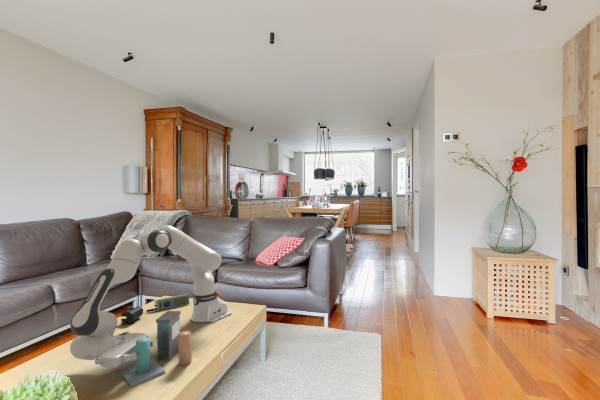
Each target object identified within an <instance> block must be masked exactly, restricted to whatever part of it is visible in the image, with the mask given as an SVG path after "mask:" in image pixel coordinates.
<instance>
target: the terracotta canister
mask: <svg viewBox="0 0 600 400" xmlns="http://www.w3.org/2000/svg"><path fill="white" fill-rule="evenodd" d="M177 353H178V365H179V366H189V364H191V363H192V331H191V330H183V331H180V333H179V334H178V352H177Z"/></svg>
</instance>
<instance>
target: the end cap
mask: <svg viewBox="0 0 600 400" xmlns="http://www.w3.org/2000/svg"><path fill="white" fill-rule="evenodd" d="M143 314H144V309H143V307H141V306H140V305H137V306H136V307H129V308H128V309H127V310H124V311H122V312H121V314H120V316H121V318H120V320H121V321H120V322H121V325H130V324H132V323H133V322H135V321H136V320H138V319H139V318H141V317H142V316H143ZM123 317H125V318H123Z"/></svg>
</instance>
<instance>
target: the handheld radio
mask: <svg viewBox="0 0 600 400" xmlns="http://www.w3.org/2000/svg"><path fill="white" fill-rule="evenodd" d="M187 305H190V293H185V294H179V295H175V296H174V295H173V296H169V297H163V298H159V299H154V305H153V306H154V307H155V308H150V309H146V310H145V311H146V313H149V312H154V311H156V312H160V311H165V310H168V309H173V308H179V307H182V306H187Z"/></svg>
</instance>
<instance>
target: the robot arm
mask: <svg viewBox="0 0 600 400" xmlns="http://www.w3.org/2000/svg"><path fill="white" fill-rule="evenodd" d="M167 249H168V250H170V251H171V252H173V253H175V254H176V255H177V256H179V257H181V258H182V259H185V260H186V262H187V263H188V265H189V267H190V270H191V275H192V279H193V294H192V303H193V304H192V305H193V309H192V314H191V318H190V320H191V321H192V322H196V323H214V322H216V321H218V320H221V319H223V318H225V317H228V316H230V315H232V310H231V309H229V308H228V304H227V302H226V301H224V300H223V299H221V298H219V297H220V296H221V295H222V294H221V292H220V291H215V278H214V276H213V274H212V272H211V271H213V270H214V271H215V270H217V269H219V267H220V266H221V264H222V260H223V259H222V256H221V254H220V253H218V252H217V251H216V250H213V249H212V248H210V247H208V246H206V245H204V244H203V243H202V242H199V241H197V240H195V239H194V238H192V237H191V236H189V235H188V234H186V233H185V232H184V231H182V230H180V229H179V228H177V227H175V226H172V225H169V224H168V225H167V224H166V225H164V226H162V227H160V228H159V229H158V230H157V229H156V230H152V231H146V232H144V233H142V234H138V235H137V236H135V237H134V238H126V239H123V240H122V241H121V242H120V243H119V245H118V246H117V248H116V250H115V252H114V253H113V255H112V258H111V261H110V262H109V264H108V265H107V267H106V269H103V270H102V271H101V272H100V273H99V275H98V277H97V278H96V279H95V281H94V283H93V284H92V286H91V288H90V290H89V291H88V293H87V294H86V297H85V299H84V300H83V302H82V304H81V305H80V306H79V308H78V309H77V310H76V311H75V313H74V314H73V316H72V317H71V320H70V325H69V327H70V330H71V332H72V334H74V335H75V336H76V337H75V338H74V339H73V340H72V341H71V343H70V346H69V351H70V354H71V356H73V357H74V358H75V359H79V360H85V361H94V364H96V365H100V366H101V367H104V368H109V369H114V368H118V367H119V366H120V365H121V364H123V363H125V362H129V361H136V359H137V358H138V354H137V353H136V340H137V339H139V338H143V337H149V335H148V334H147V333H144V332H143V333H141V332H132V333H131V332H130V331H124V332H122V333H120V334H116V335H115V331H116V329H117V326H118V317H117V316H116V315H115V314H114V313H113V312H109V311H104V310H101V309H100V306H101V305H102V303H103V301H104V299H105V298H106V295H107V293H108V292H109V290H110V288H112V287H113V286H114V285H117V284H123V283H126V282H128V281H130V280H132V279H133V277H134V276H135V275H136V272H137V270H138V267H139V265H140V261H141V259H142V257H143V256H149V255H154V254H157V253H162V252H164V251H166V250H167ZM152 347H154V341H150V349H151V348H152Z"/></svg>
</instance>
